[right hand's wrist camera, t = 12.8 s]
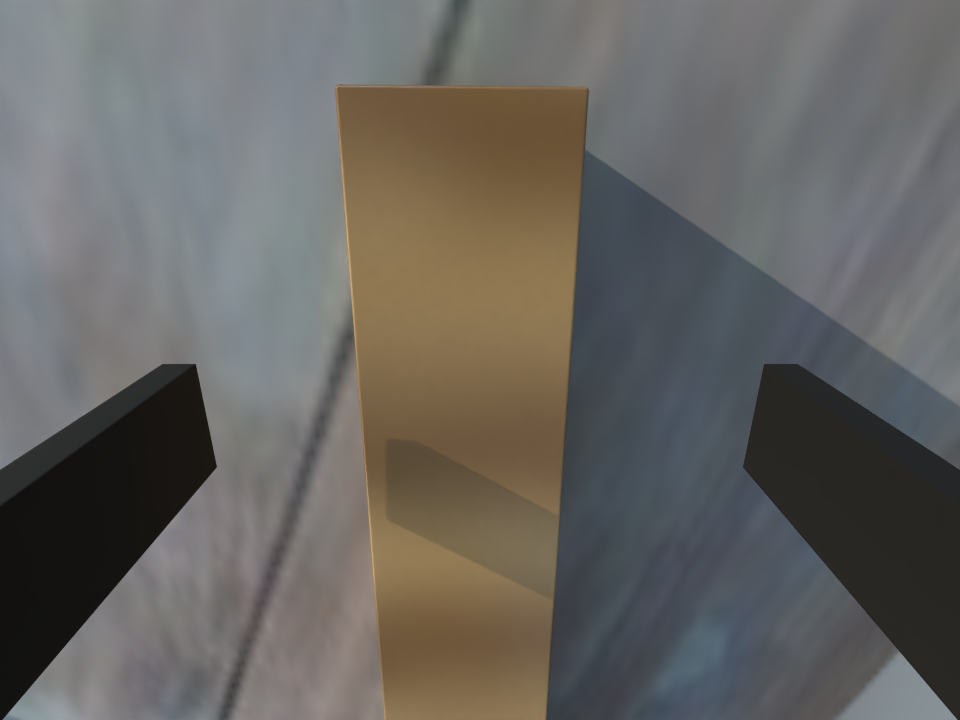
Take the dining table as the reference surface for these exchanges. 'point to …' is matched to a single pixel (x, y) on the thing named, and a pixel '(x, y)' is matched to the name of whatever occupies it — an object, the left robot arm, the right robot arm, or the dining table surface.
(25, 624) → the right robot arm
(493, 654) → the bar
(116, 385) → the dining table surface
